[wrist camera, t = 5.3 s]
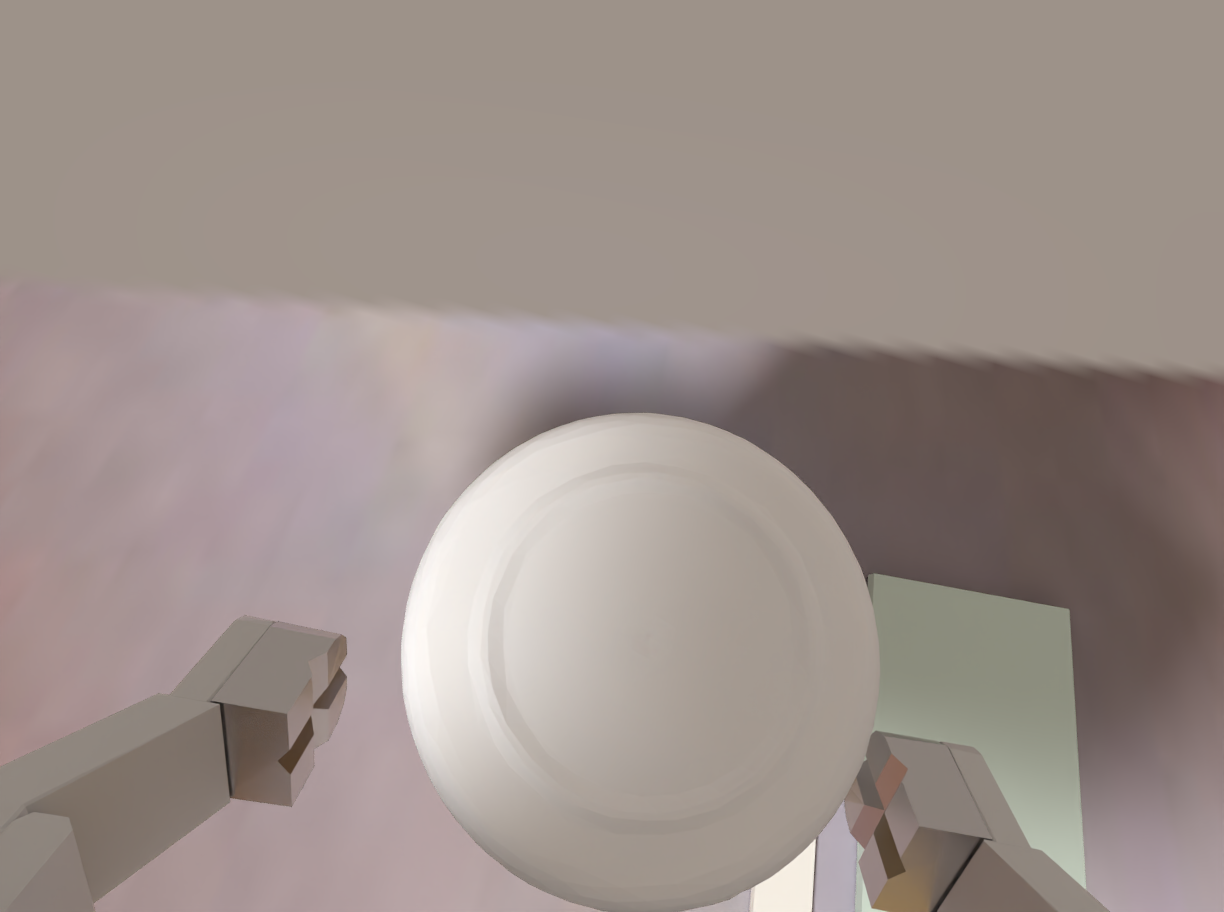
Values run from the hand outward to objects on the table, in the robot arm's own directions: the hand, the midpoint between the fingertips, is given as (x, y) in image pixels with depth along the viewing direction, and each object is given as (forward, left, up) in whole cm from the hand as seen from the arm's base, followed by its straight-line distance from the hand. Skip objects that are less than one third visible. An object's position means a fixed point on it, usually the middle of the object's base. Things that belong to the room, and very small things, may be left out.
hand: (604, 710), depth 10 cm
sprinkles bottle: (0, +1, -9) cm, 9 cm away
